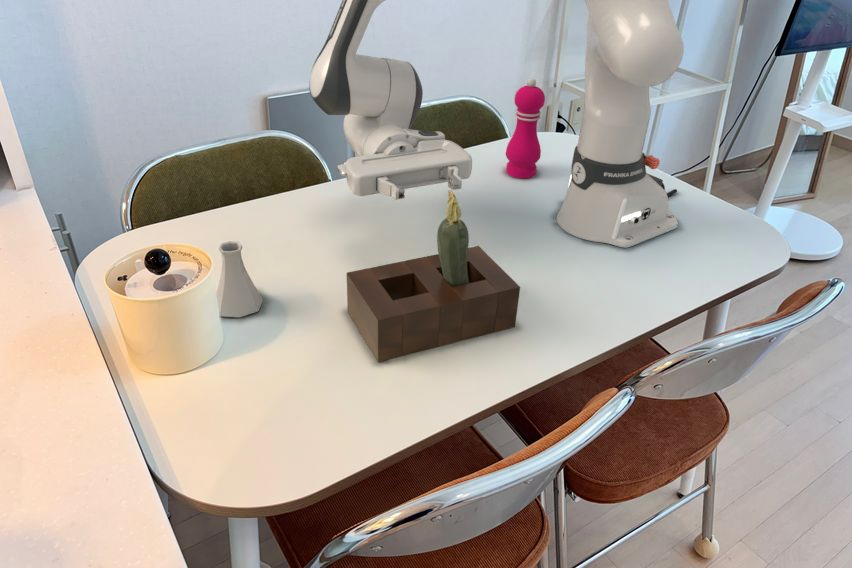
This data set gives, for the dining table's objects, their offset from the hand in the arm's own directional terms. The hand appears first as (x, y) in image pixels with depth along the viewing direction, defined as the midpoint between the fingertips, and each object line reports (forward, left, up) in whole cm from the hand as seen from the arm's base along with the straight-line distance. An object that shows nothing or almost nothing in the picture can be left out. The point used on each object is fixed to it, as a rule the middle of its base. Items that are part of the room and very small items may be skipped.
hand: (429, 189), depth 104 cm
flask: (+30, -2, -15) cm, 33 cm away
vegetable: (0, +12, -15) cm, 19 cm away
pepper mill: (-35, -29, -15) cm, 48 cm away
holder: (+5, +12, -15) cm, 19 cm away
